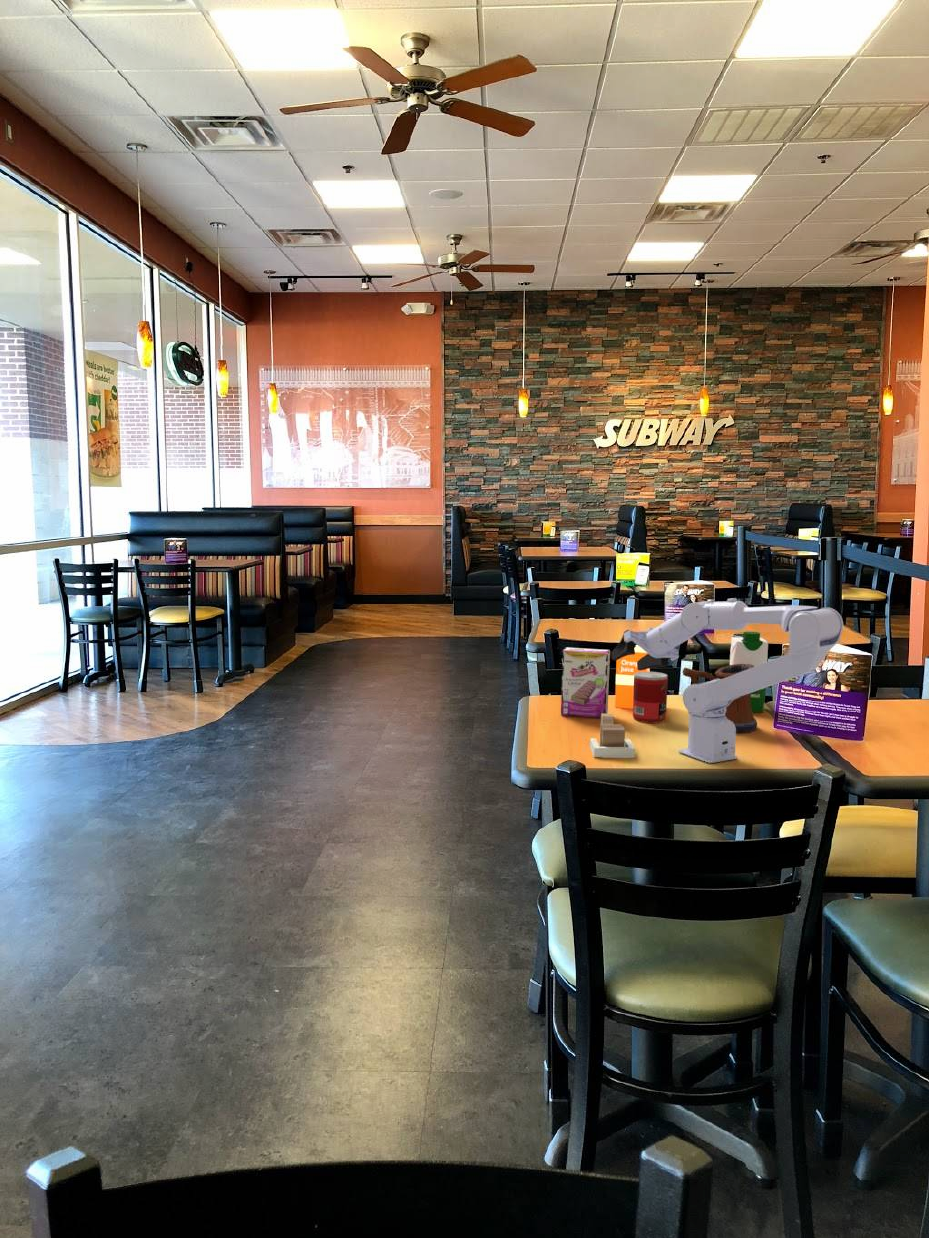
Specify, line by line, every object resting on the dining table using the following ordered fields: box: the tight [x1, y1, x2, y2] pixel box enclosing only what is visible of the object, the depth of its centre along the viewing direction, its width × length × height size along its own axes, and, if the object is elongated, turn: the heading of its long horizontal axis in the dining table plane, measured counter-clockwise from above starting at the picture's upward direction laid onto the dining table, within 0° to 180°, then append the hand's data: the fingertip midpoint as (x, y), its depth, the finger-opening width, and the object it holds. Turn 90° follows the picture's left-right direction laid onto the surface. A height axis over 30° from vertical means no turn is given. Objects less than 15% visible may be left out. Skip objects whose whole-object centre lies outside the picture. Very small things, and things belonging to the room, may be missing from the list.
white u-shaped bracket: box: [589, 737, 636, 759], centre depth 196 cm, size 8×8×2 cm
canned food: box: [632, 671, 669, 724], centre depth 225 cm, size 8×8×11 cm
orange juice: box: [614, 626, 651, 710], centre depth 239 cm, size 8×9×20 cm
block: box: [599, 713, 626, 747], centre depth 200 cm, size 12×4×6 cm, turn 179°
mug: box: [682, 664, 758, 733], centre depth 217 cm, size 18×12×15 cm, turn 96°
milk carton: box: [729, 631, 769, 714], centre depth 235 cm, size 9×9×20 cm
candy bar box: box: [560, 647, 611, 719], centre depth 227 cm, size 11×5×16 cm, turn 76°
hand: (625, 661), depth 208 cm, fingers open, 7 cm apart
